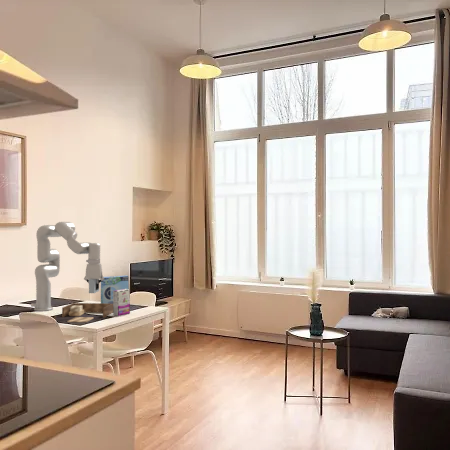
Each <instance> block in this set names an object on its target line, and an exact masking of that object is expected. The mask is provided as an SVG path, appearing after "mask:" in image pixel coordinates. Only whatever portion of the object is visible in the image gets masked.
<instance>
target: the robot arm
mask: <svg viewBox="0 0 450 450" xmlns="http://www.w3.org/2000/svg"><path fill="white" fill-rule="evenodd" d="M59 237H60V238H61V237H62V238H63V240H65V241H66V245H67V247H68V248H69V250H71V251H72V252H73V253H74V254H77V255H88V256H87V257H88V259H86V261H85V262H86V268H85V276H84V278H83V280H84V281H86V282H87V283H88V284H89V279H96V282H97V284H96V290H98V289H99V290H100V284H101V281H102V280H104V277H105V276H103V267H102V263H101V244H100V243H99V242H97V243H96V242H78V241H77V240H76V239H77V238H78V232H77V231H76V226H75V224H74V223H73V222H71V221H59V222H57V223H55V224H46V225H45V224H44V225H41V226H39V227H38V228H37V231H36V240H37V241H36V242H37V243H36V245H37V246H36V247H37V248H36V249H37V252H36V253H37V254H36V255H37V261H38V262H39V263H43V264H39V265H38V266H36V267H35V268H34V275H35V280H36V281H35V284H36V286H35V288H36V289H35V291H36V293H35V297H36V298H35V303H31V304H30V306H31V307H34V308H33V311H35V312H36V311H37V312H43V311H44V312H46V311H51V310H54V307H53V306H52V304H51V303H52V302H51V301H52V300H51V299H52V285H51V281H50V279H49V278H56V277H57V276H59V274H60V271H61V270H60V269H61V267H60V264H61V263H60V262H61V259H60V258H61V256H60V252H59V251H58V250H57V249H56V248H51V241H50V239H49V238H59Z"/></svg>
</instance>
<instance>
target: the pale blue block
mask: <svg viewBox="0 0 450 450" xmlns="http://www.w3.org/2000/svg"><path fill="white" fill-rule="evenodd" d="M96 284H97V282H96V279H89V283H88V294H95V293H98V292H100V288H99V289H98V290H96Z"/></svg>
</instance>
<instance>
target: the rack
mask: <svg viewBox="0 0 450 450" xmlns="http://www.w3.org/2000/svg"><path fill="white" fill-rule="evenodd" d="M73 305H83V310H84V313H102V318H106V317H108V316H110V315H112V314H113V304H110V303H101V302H100V303H99V302H97V303H96V302H95V303H94V302H93V303H92V302H89V303H88V302H72V303H70V304H68V305H65V306H63V307H61V308H62V309H61V310H62V311H61V317H62V318H64V317H67V316H69V312H70V311H71V307H72V306H73Z"/></svg>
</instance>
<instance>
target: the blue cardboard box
mask: <svg viewBox="0 0 450 450" xmlns="http://www.w3.org/2000/svg"><path fill="white" fill-rule="evenodd" d="M103 277H104V280H102V281H101V282H100V303H110V304H113V291H117V290H122V289H129V275H126V274H125V275H115V276H114V275H111V276H103Z"/></svg>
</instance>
